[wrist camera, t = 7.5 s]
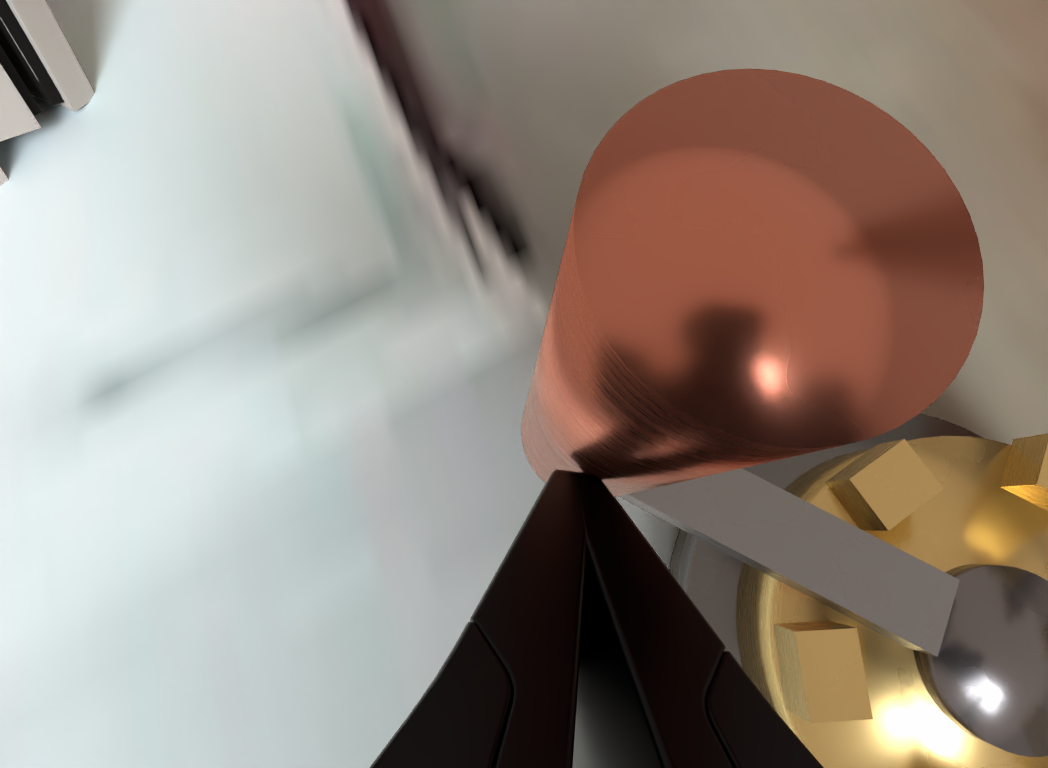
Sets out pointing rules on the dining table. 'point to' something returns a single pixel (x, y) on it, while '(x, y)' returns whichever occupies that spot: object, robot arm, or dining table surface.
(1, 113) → the napkin holder
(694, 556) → the grey round base plate
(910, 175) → the copper and gold mechanism
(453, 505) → the dining table surface
